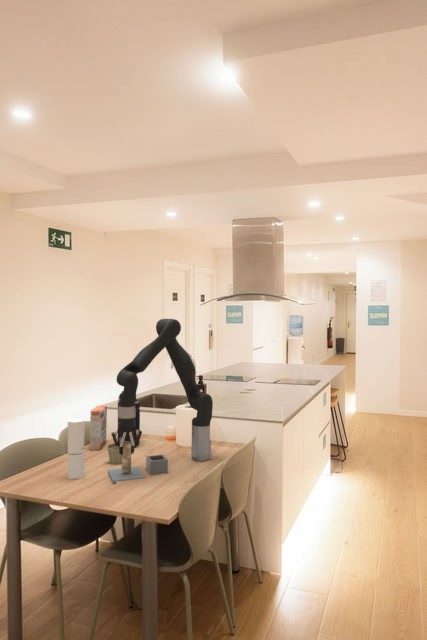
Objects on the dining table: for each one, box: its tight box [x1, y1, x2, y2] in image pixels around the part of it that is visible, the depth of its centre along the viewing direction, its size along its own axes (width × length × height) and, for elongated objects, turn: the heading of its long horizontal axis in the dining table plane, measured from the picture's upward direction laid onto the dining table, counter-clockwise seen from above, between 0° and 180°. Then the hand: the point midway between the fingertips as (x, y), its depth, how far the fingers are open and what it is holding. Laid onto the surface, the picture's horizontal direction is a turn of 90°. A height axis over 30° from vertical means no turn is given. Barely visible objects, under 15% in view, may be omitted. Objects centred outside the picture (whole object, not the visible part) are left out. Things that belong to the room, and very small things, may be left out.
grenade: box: [117, 390, 141, 449], centre depth 259 cm, size 14×12×30 cm
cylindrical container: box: [66, 418, 85, 480], centre depth 212 cm, size 7×7×25 cm
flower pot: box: [106, 443, 122, 465], centre depth 230 cm, size 9×9×9 cm
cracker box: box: [89, 405, 108, 451], centre depth 257 cm, size 14×6×21 cm, turn 179°
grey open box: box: [145, 454, 169, 476], centre depth 218 cm, size 8×8×7 cm
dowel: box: [121, 441, 132, 473], centre depth 212 cm, size 4×4×13 cm
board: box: [107, 466, 146, 485], centre depth 212 cm, size 14×14×2 cm
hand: (126, 453), depth 212 cm, fingers closed on dowel, 4 cm apart
